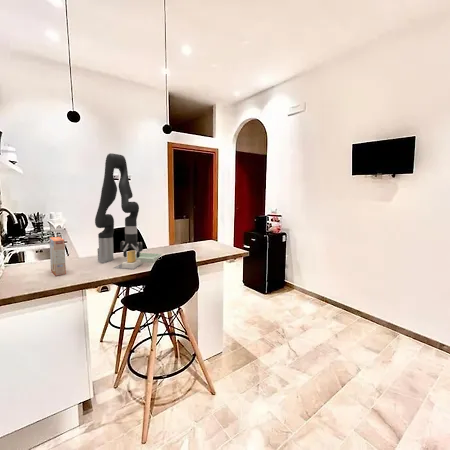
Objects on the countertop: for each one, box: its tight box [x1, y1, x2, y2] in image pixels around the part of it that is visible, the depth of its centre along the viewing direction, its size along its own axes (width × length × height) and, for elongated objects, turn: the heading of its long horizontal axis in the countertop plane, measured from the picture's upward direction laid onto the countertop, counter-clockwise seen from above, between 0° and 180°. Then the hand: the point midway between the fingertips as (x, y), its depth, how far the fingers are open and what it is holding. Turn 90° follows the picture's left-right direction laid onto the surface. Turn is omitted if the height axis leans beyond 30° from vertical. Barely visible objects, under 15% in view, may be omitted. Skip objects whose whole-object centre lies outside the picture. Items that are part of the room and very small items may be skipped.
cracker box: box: [48, 236, 67, 277], centre depth 156 cm, size 14×6×21 cm, turn 42°
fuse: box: [126, 249, 136, 263], centre depth 171 cm, size 3×5×10 cm, turn 172°
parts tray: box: [135, 252, 162, 263], centre depth 190 cm, size 18×16×4 cm
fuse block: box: [113, 260, 143, 271], centre depth 172 cm, size 14×14×4 cm
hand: (131, 257), depth 171 cm, fingers open, 8 cm apart
